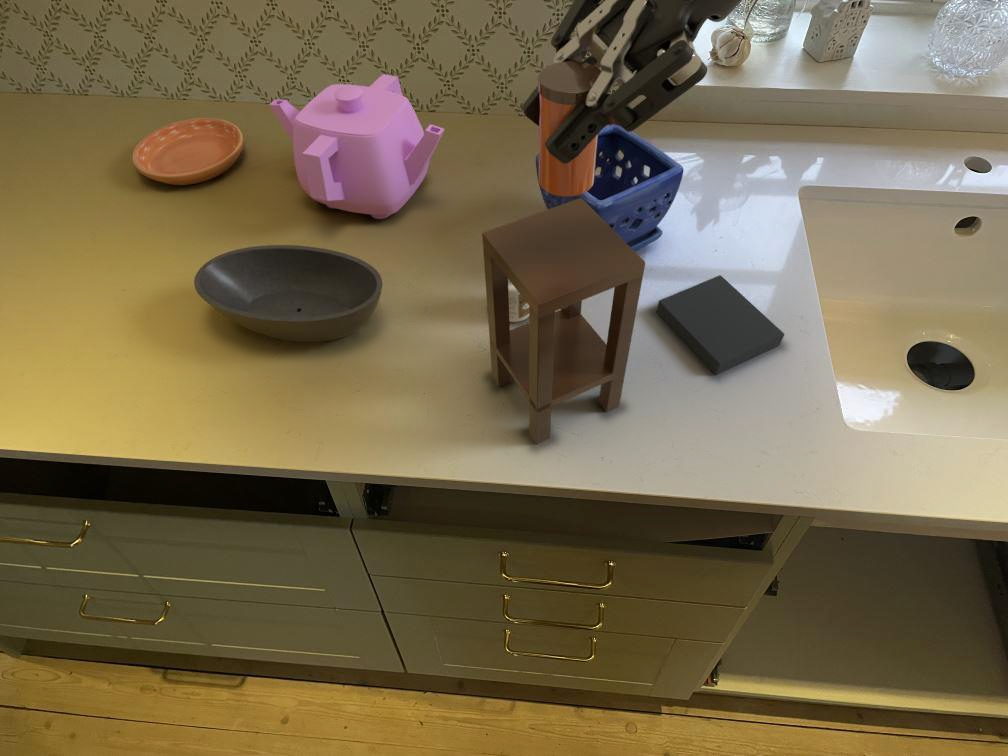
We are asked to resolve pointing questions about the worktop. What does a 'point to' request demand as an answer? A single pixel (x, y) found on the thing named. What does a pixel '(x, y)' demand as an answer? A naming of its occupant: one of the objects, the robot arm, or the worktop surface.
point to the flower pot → (628, 186)
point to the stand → (560, 307)
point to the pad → (719, 324)
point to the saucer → (189, 151)
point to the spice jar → (556, 101)
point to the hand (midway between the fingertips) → (543, 135)
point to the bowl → (291, 291)
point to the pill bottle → (516, 305)
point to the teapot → (359, 146)
